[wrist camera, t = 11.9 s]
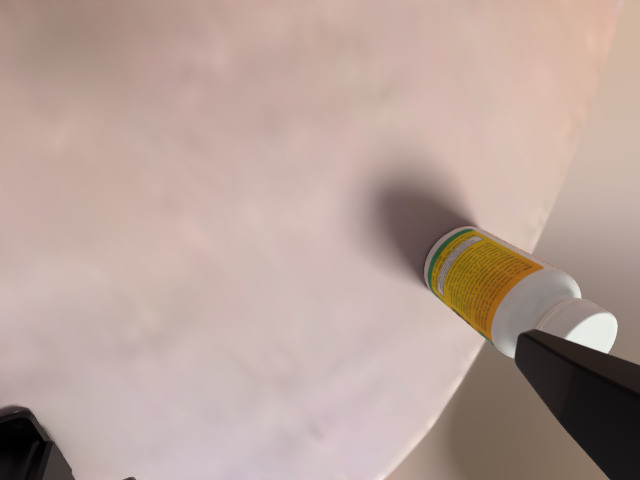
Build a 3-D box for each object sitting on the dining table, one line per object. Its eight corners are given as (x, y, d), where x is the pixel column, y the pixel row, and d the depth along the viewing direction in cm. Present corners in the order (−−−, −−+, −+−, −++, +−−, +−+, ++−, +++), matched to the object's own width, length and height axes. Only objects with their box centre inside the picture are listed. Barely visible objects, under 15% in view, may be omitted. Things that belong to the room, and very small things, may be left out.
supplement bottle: (498, 228, 26) (648, 300, 18) (470, 296, 28) (597, 390, 20) (435, 219, 24) (575, 298, 16) (410, 294, 26) (524, 399, 18)
